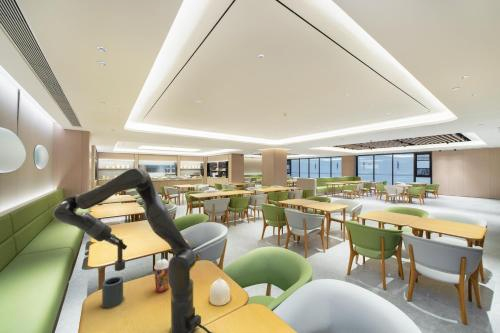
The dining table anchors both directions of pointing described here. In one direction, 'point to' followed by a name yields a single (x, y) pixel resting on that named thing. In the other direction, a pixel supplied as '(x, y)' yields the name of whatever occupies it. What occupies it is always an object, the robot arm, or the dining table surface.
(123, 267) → the brush
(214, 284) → the white rounded dome
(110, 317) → the dining table surface
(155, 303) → the dining table surface
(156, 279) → the smoothie
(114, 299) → the jar
